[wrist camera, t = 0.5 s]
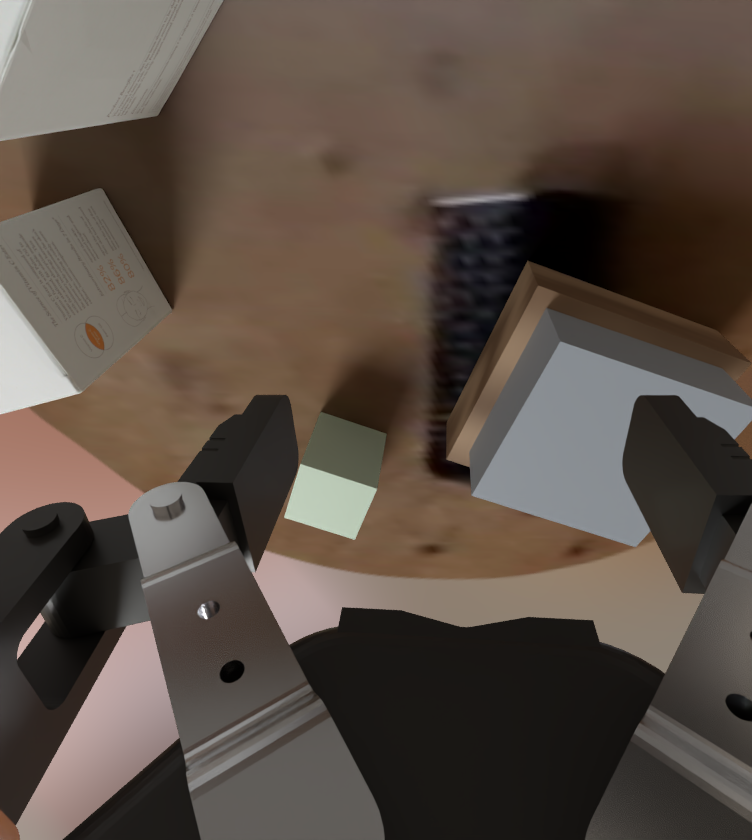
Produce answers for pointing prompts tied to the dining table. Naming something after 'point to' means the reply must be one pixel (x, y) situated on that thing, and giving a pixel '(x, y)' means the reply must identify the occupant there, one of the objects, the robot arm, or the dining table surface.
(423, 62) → the dining table surface
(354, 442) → the sage block
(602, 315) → the walnut base slab
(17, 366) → the small box
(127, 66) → the supplement box
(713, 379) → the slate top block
